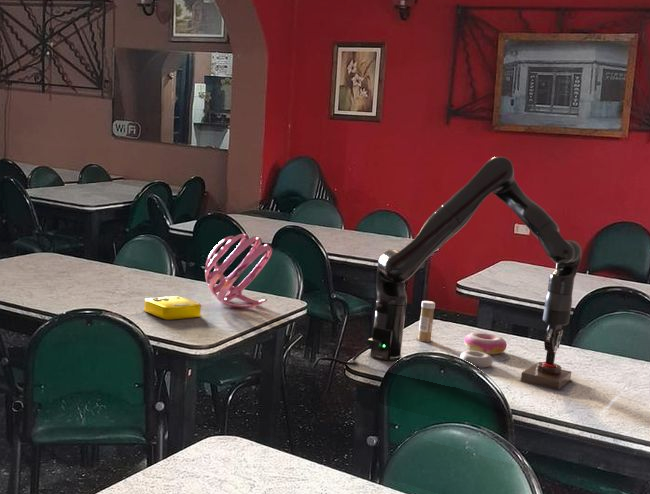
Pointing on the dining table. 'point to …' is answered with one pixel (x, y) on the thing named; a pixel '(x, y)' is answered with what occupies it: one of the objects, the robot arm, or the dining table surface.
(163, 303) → the element tile
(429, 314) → the sprinkles bottle
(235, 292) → the spiral basket
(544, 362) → the light button
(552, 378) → the switch block
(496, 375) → the dining table surface
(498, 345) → the donut
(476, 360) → the donut
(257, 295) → the dining table surface
